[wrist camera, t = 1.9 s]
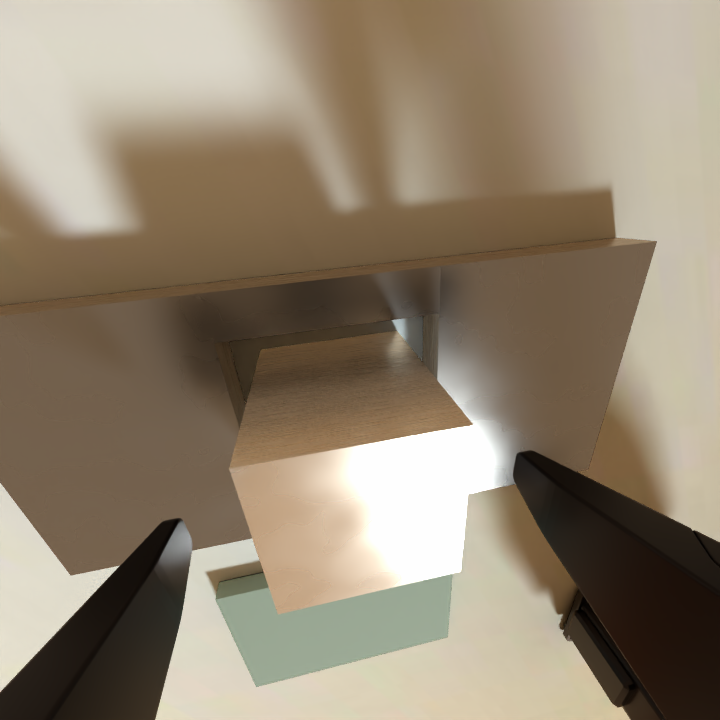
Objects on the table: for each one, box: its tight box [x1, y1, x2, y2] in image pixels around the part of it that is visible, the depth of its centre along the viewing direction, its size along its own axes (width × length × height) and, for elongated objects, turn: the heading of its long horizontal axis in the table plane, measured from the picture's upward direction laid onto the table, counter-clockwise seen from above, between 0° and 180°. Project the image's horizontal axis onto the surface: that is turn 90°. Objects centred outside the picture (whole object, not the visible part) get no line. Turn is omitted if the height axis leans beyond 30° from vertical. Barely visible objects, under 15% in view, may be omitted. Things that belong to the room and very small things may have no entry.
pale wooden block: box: [229, 331, 474, 614], centre depth 10 cm, size 5×5×6 cm
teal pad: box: [216, 573, 452, 687], centre depth 18 cm, size 12×9×1 cm
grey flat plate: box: [0, 238, 657, 575], centre depth 12 cm, size 22×10×2 cm, turn 94°
